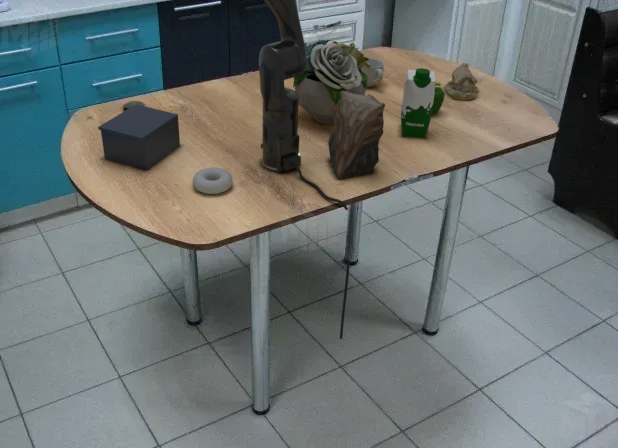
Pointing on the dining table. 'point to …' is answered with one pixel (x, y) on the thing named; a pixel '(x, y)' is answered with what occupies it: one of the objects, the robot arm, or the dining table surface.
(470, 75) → the ceramic model
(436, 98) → the bell pepper
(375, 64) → the teacup
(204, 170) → the donut
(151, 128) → the lid
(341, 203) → the robot arm
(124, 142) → the chest
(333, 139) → the brown rough block
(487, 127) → the dining table surface
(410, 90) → the milk carton
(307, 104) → the flower arrangement
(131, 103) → the soupspoon
